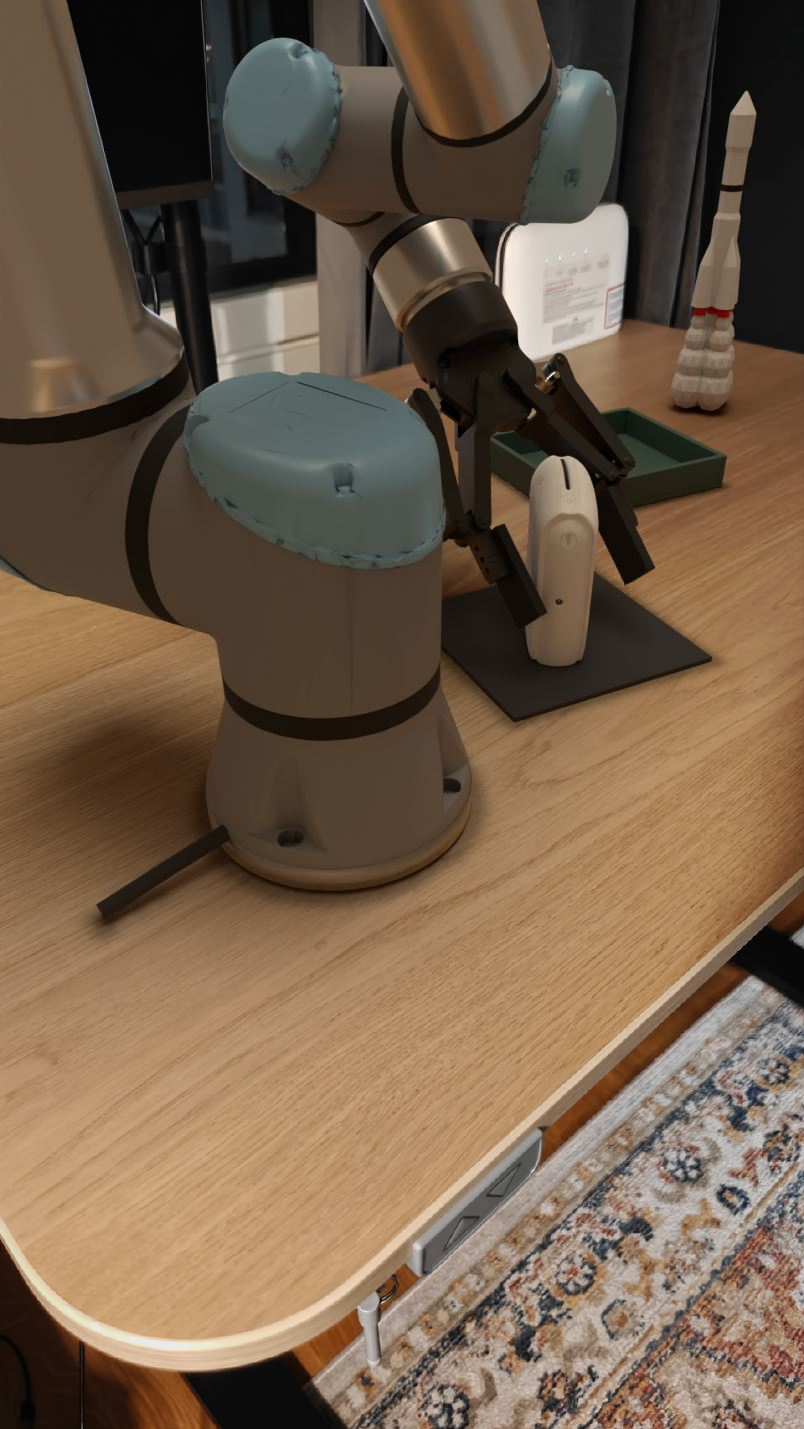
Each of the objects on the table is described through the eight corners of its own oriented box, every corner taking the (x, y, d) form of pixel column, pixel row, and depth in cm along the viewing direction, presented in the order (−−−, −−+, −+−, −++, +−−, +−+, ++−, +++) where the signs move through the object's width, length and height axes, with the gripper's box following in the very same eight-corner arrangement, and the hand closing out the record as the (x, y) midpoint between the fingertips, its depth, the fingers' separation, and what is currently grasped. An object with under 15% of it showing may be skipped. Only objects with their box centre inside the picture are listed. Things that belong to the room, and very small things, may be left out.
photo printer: (588, 669, 70) (607, 501, 63) (525, 668, 70) (537, 500, 63) (576, 596, 78) (591, 440, 71) (520, 595, 78) (530, 439, 71)
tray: (567, 523, 89) (569, 491, 88) (481, 464, 101) (482, 435, 99) (722, 486, 95) (727, 455, 94) (625, 434, 106) (628, 406, 105)
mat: (514, 721, 65) (514, 718, 65) (405, 611, 77) (405, 608, 77) (711, 660, 71) (712, 656, 71) (582, 566, 83) (582, 562, 83)
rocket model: (652, 401, 115) (691, 90, 97) (706, 391, 117) (754, 86, 100) (691, 421, 109) (740, 96, 92) (747, 411, 112) (805, 91, 94)
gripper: (538, 314, 79) (665, 572, 78) (294, 369, 69) (436, 667, 68) (593, 252, 73) (732, 532, 71) (332, 303, 62) (489, 631, 61)
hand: (588, 598), depth 69 cm, fingers open, 9 cm apart
